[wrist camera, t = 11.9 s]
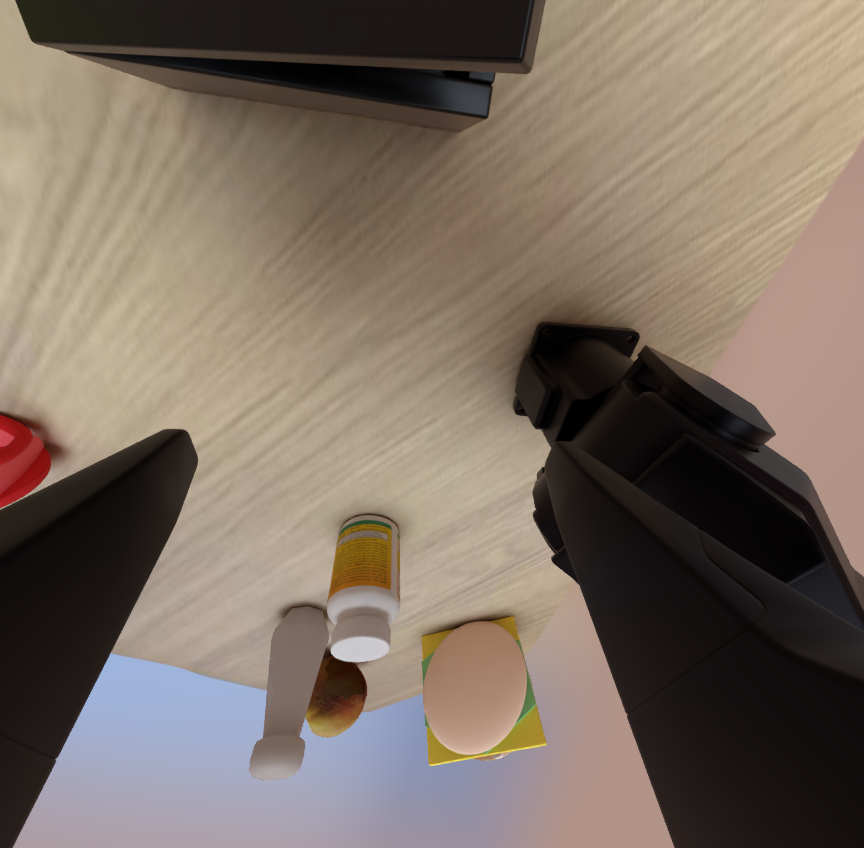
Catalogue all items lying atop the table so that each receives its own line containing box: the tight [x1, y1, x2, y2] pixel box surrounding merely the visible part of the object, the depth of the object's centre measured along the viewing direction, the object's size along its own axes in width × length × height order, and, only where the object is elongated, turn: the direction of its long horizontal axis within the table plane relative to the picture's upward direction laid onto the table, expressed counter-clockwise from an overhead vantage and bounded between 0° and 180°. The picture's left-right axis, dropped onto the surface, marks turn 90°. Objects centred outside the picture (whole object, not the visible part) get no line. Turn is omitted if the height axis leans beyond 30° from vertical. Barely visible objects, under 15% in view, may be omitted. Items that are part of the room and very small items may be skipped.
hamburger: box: [422, 616, 547, 766], centre depth 41 cm, size 12×8×12 cm
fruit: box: [305, 655, 367, 738], centre depth 44 cm, size 8×8×8 cm
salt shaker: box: [249, 606, 329, 780], centre depth 34 cm, size 6×6×13 cm
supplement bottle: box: [327, 515, 400, 662], centre depth 28 cm, size 5×5×10 cm
